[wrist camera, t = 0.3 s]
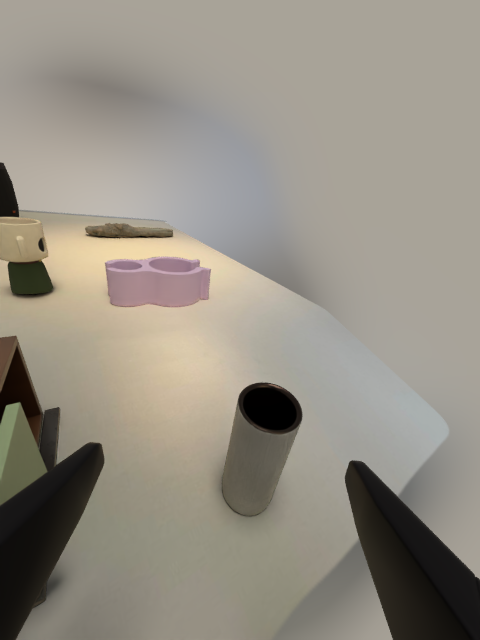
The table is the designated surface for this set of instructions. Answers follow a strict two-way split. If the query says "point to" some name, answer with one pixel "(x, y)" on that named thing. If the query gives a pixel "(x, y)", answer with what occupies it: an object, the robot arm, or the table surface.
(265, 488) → the grey hollow tube
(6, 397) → the cupboard
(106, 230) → the elongated rock
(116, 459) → the table surface
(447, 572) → the robot arm
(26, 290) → the character mug
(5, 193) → the portable speaker
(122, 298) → the clip
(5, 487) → the sliding door
